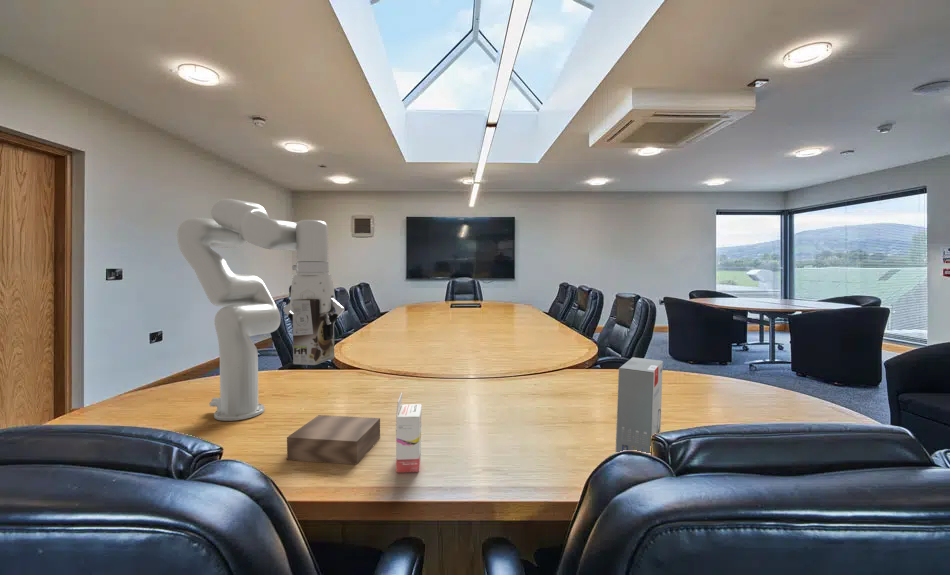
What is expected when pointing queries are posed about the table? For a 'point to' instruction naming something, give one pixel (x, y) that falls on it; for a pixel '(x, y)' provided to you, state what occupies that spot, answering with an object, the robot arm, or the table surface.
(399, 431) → the ink cartridge box
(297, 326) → the chocolate food box
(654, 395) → the hard drive box
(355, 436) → the walnut plinth
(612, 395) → the table surface
